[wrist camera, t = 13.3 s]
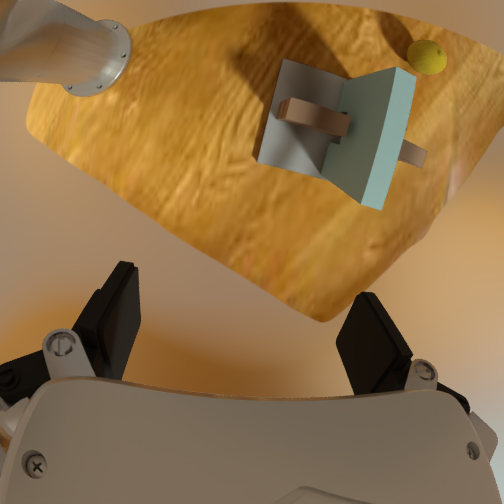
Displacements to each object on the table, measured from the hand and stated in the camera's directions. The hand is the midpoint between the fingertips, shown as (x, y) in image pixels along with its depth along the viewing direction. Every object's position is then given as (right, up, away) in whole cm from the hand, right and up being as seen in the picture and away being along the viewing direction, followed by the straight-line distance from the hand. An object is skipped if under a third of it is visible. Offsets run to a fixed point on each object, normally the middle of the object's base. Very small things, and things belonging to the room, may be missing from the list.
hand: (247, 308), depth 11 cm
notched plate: (+12, +19, +22) cm, 32 cm away
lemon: (+25, +32, +18) cm, 44 cm away
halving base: (+12, +19, +23) cm, 33 cm away
